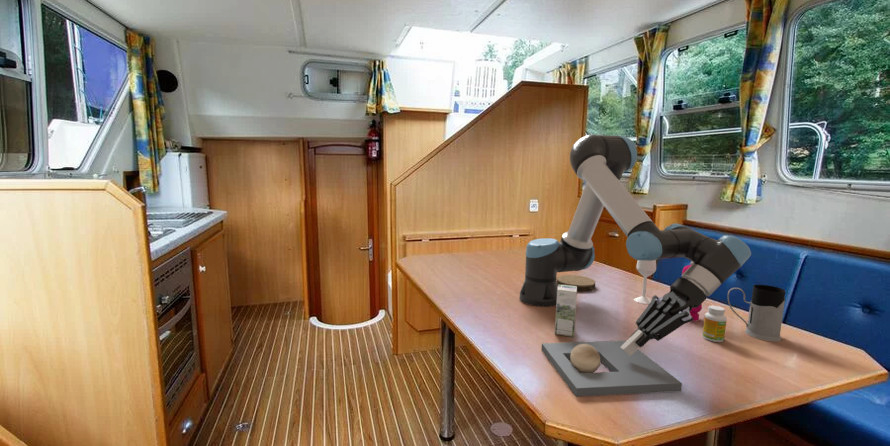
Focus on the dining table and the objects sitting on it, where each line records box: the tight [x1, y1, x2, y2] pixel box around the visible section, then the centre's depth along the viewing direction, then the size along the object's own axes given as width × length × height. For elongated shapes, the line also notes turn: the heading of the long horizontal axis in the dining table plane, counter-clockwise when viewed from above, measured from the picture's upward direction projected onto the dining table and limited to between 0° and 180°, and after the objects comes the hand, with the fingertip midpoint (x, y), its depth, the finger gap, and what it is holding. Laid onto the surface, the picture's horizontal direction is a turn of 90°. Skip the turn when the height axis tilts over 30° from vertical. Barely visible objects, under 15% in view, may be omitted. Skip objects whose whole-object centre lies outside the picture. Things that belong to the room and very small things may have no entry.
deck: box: [541, 339, 683, 397], centre depth 97 cm, size 25×22×2 cm
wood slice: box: [556, 274, 596, 293], centre depth 166 cm, size 16×16×3 cm
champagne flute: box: [633, 260, 657, 305], centre depth 147 cm, size 7×7×24 cm
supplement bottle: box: [702, 305, 727, 343], centre depth 115 cm, size 5×5×10 cm
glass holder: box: [726, 284, 786, 343], centre depth 119 cm, size 9×14×15 cm, turn 58°
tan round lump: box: [570, 344, 601, 373], centre depth 95 cm, size 7×7×7 cm
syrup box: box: [554, 285, 578, 338], centre depth 118 cm, size 6×6×14 cm
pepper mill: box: [681, 261, 703, 322], centre depth 130 cm, size 7×7×20 cm
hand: (625, 351), depth 97 cm, fingers closed
